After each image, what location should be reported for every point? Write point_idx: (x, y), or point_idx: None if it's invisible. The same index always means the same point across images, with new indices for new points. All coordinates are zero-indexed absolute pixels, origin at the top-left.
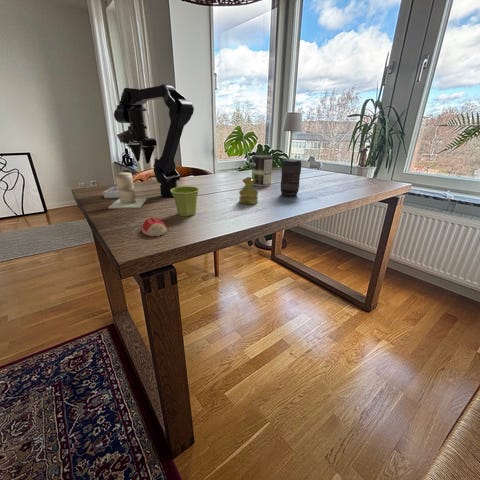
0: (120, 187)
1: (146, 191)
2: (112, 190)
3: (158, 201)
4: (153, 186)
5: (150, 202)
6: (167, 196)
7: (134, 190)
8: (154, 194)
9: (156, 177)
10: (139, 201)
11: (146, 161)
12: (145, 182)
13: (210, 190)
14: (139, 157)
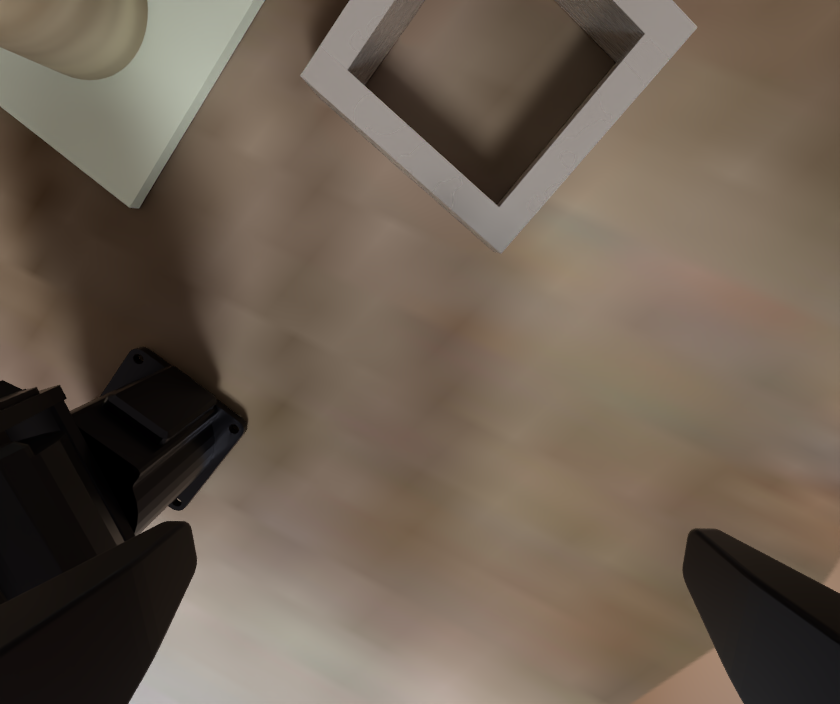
0: None
1: (441, 350)
2: (593, 3)
3: (41, 265)
4: (582, 487)
5: (44, 197)
6: (110, 383)
7: (495, 251)
8: (286, 351)
9: (4, 399)
10: (59, 105)
11: (121, 543)
12: (810, 514)
13: (144, 698)
14: (736, 672)
